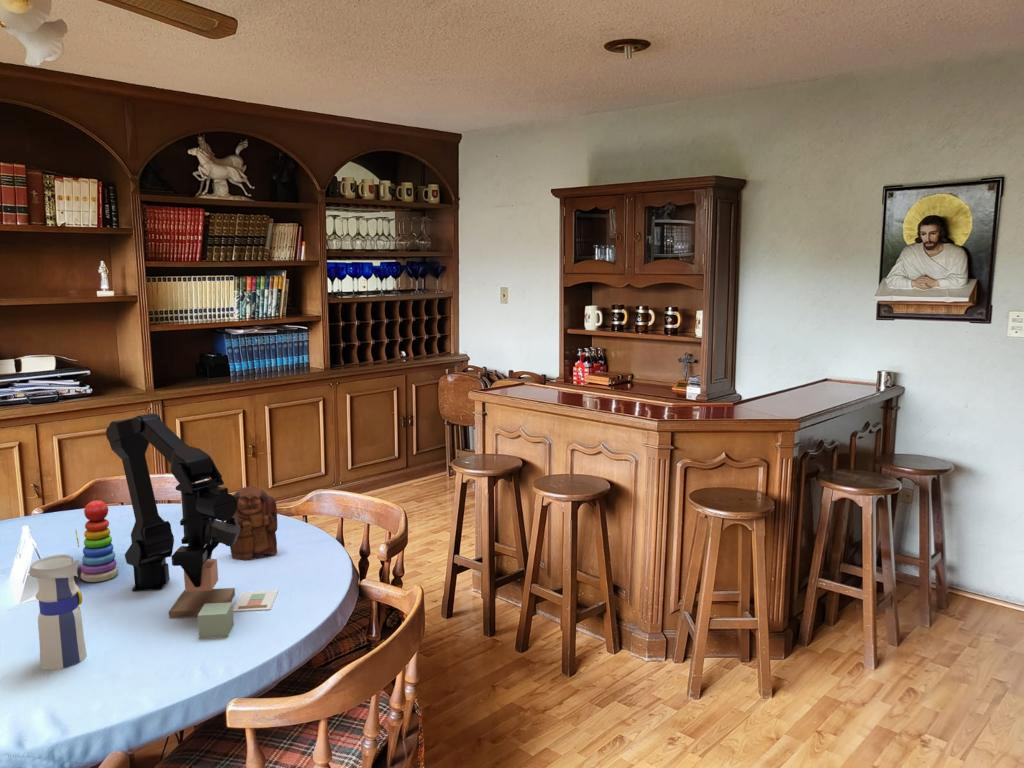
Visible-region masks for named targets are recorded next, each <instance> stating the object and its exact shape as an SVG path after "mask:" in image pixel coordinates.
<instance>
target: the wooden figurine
mask: <svg viewBox="0 0 1024 768" xmlns="http://www.w3.org/2000/svg"><path fill="white" fill-rule="evenodd" d="M232 495H233V496H234V497H235V499H236V501H237V510H236V512H235V514H234V515H233V517H235V518H237V521H238V525H240V531H239V535H238V538H237V541H236V542H235V543H234V545H233V546H229V548H230V553H231V557H232V558H233V559H235V560H239V561H250V560H251V561H252V560H253V559H254V558H258V559H261V558H266V557H267V556H276V555H277V553H278V541H277V535H276V532H277V530H278V510H277V509H278V507H277V503H276V499H275V498H274V497H273V496H270V495H268V494H267V492H266V491H265V490H264V489H262V488H261V487H257V486H245V487H242V488H239V489H238V490H237V491H236V492H235V493H234V494H232Z"/></svg>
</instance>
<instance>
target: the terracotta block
mask: <svg viewBox="0 0 1024 768" xmlns="http://www.w3.org/2000/svg"><path fill="white" fill-rule="evenodd" d="M218 569H219V568H218V559H217V558H211V559H208V560H207V561H206V562H205V563H204V564H203V569H202V579H201V586H200V587H195V586H194V585H193V583H192V582H191V580H190V579H189V577H188V575H187V574H186V572H185V571H184V570H183V579H184V580H183V581H184V590H185V592H189V591H210V590H212V589H215V588H214V587H215V586H216V585H217V583H218V582H219V570H218Z"/></svg>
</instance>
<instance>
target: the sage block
mask: <svg viewBox="0 0 1024 768" xmlns="http://www.w3.org/2000/svg"><path fill="white" fill-rule="evenodd" d="M233 608H234V605H233V602H232V601H231V602H229V603H210V604H204V606H203V607H202V609H201V611H200V612H199V614H198V617H197V627H198V638H199V640H200V639H215V638H216V639H217V638H229V635H230V634H231V631H232V629H233V627H234V625H235V622H234V612H233Z"/></svg>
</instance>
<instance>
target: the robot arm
mask: <svg viewBox="0 0 1024 768" xmlns="http://www.w3.org/2000/svg"><path fill="white" fill-rule="evenodd" d="M105 436H106V440H108V443H109V446H110V449H111V451H113V452H114V453H115V454H116V455H117V457H119V458H120V459H121V462H122V465H123V470H124V475H125V479H126V484H127V489H128V492H129V497H130V502H131V506H132V510H133V515H134V520H135V522H134V525H133V528H132V531H131V533H130V539H131V540H130V541H131V543H130V546H129V548H128V549H127V550H126V552H125V553H124V558H125V562H126V564H127V565H131V566H132V567H133V578H134V579H133V581H134V586H133V587H132V589H131V591H132V592H139V591H140V592H141V591H143V592H144V591H145V592H146V591H160V590H162V589H163V588H164V587H165V586H166V585H167V583H168V582H169V581H170V579H171V578H170V577H171V576H170V570H169V563H168V562H167V561H166V560H167V559H166V558H170V557H171V566H174V567H178V566H180V567H181V568H182V570H183V572H184V571H185V572H186V574H187V575H188V577H189V579H190V580H191V582H192V583H193V585H194V586H195V587H200V586H201V579H202V569H203V564H204V563H205V562H206V561H207V560H208V559H212V554H213V551H214V550H215V549H216V548H217V547H218V546H219V544H223V545H225V546H226V547H230V546H233V545H234V543H235V542H236V541H237V538H238V535H239V531H240V525H238V521H237V518H235V517H233V515H234V514H235V512H236V510H237V501H236V499H235V497H234V496H233V495H234V494H231V493H229V488H228V487H226V486H224V484H225V482H224V481H223V476H222V474H221V473H220V470H219V469H218V467H217V466H216V464H215V462H214V459H213V458H212V457H211V456H210V455H209V454H208V453H207V452H205V451H204V450H202V449H201V448H198V447H193V446H190V445H189V444H187V443H185V442H184V440H182V439H181V438H180V437H179V436H178V435H177V434H176V433H175V432H173V430H172V429H171V428H170V427H168V425H167V424H165V423H164V422H163V421H162V419H161V416H160V415H159V414H158V413H153V412H152V413H145V414H139V415H137V416H136V415H135V417H130V418H125V419H118V420H115V421H114V420H113V421H111V422H110V423H109V426H107V427H106V429H105ZM149 445H152V446H153V448H155V449H156V450H157V451H158V452H159V454H161V455H162V456H163V457H164V458H165V459H166V460H167V461H168V463H169V465H170V466H169V472H170V473H171V474H172V475H173V477H174V478H175V480H176V481H177V482H178V485H176V486H175V490H176V491H178V492H180V496H181V508H182V509H181V510H182V511H181V512H182V518H181V519H180V520H179V524H180V525H179V526H182V527H183V537H182V538H181V546H179V547H178V548H177V549H176V551H174V550H173V549H174V545H175V535H174V534H173V531H172V527H171V526H172V525H171V523H170V522H169V520H166V521H165V520H164V519H163V518H162V516H160V514H159V510H158V506H157V503H156V502H157V501H156V497H155V493H154V489H153V485H152V484H153V483H152V479H151V475H150V470H149V466H148V461H147V458H146V453H147V450H148V447H149ZM220 486H221V487H220ZM183 545H185V546H183ZM173 551H174V553H173Z"/></svg>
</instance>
